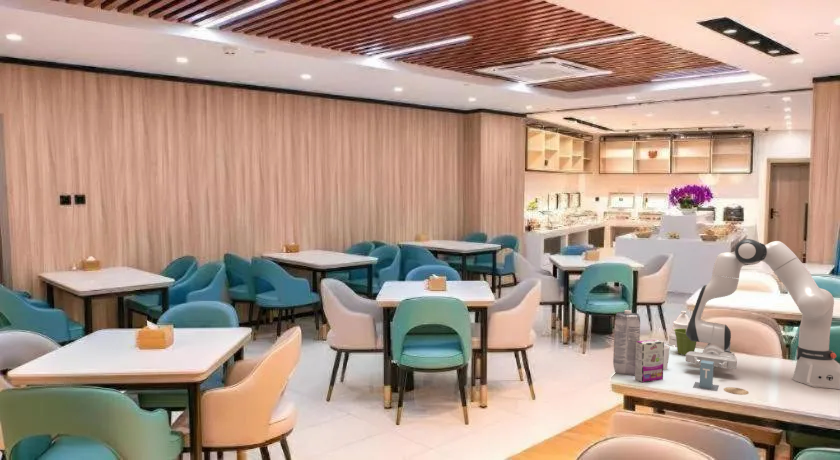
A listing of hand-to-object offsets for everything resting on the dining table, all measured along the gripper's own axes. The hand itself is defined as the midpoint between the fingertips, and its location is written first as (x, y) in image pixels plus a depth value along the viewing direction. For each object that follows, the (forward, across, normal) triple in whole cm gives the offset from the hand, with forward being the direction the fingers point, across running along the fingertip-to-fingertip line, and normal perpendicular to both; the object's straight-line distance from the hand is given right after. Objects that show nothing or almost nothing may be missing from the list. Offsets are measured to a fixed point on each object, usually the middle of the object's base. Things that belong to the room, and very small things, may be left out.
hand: (709, 364), depth 275 cm
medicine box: (-42, +1, +7) cm, 42 cm away
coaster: (+12, +11, +6) cm, 18 cm away
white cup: (-6, -21, +7) cm, 23 cm away
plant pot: (-42, -14, +7) cm, 44 cm away
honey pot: (-60, -18, +7) cm, 63 cm away
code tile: (+12, 0, +7) cm, 14 cm away
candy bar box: (+14, -22, +7) cm, 27 cm away
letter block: (+12, 0, +6) cm, 14 cm away
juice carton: (+8, -32, +7) cm, 34 cm away
